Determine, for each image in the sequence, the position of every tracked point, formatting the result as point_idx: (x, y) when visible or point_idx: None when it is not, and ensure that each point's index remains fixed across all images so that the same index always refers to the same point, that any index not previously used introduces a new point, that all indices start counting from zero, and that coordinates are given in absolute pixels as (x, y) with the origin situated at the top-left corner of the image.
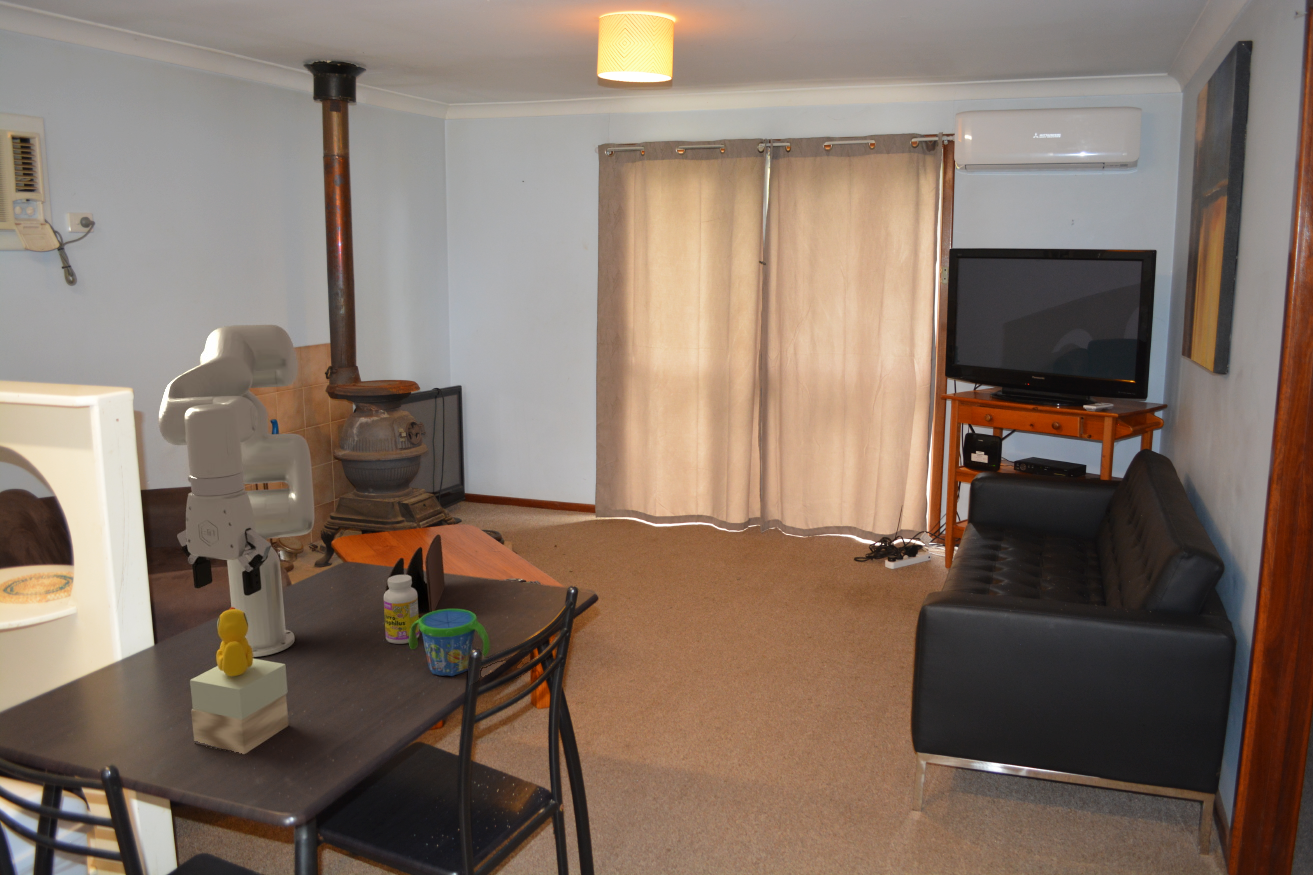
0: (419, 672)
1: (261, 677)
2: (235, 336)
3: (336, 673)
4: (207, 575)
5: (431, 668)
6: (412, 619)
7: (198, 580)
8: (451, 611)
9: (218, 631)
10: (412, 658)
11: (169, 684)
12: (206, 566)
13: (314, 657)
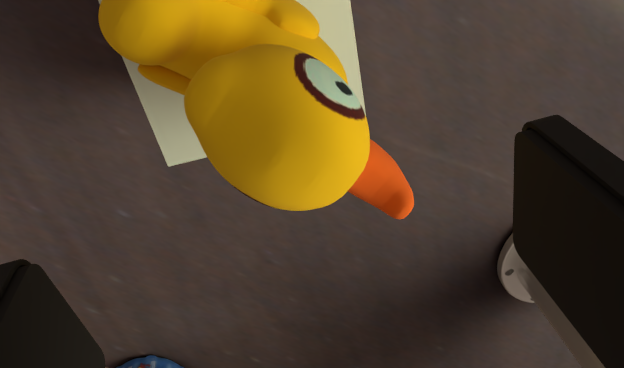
0: (185, 345)
1: (125, 62)
2: None
3: (320, 265)
4: (553, 261)
5: (152, 363)
6: None
7: (554, 168)
8: None
9: (289, 50)
10: (249, 363)
11: (617, 45)
12: (610, 327)
13: (418, 276)
